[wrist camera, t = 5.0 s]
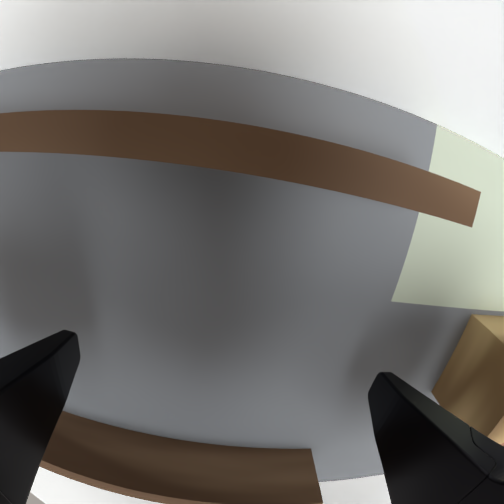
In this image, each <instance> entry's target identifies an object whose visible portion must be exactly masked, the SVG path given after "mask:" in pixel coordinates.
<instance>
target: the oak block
mask: <svg viewBox="0 0 504 504" xmlns="http://www.w3.org/2000/svg"><path fill="white" fill-rule="evenodd" d="M431 392H432V394H433V395H434V397H435V399H436V400H437V402H438V403H439V405H440V406H441V407H443V408H444V409H446V410H447V411H449V412H450V413H452V414H453V415H455V416H456V417H458V418H459V419H461V420H462V421H464V422H465V423H467V424H468V425H469V426H471V427H473V428H474V429H476V430H477V431H479V432H480V433H482V434H483V435H485V436H487V437H488V438H490V439H491V440H493V441H495V442H497V443H498V444H502V443H504V316H495V315H478V314H471V317H470V319H469V321H468V323H467V325H466V328H465V330H464V332H463V334H462V336H461V338H460V340H459V342H458V344H457V346H456V348H455V350H454V352H453V354H452V356H451V358H450V360H449V361H448V363H447V365H446V367H445V369H444V371H443V372H442V374H441V376H440V378H439V379H438V381H437V383H436V384H435V386H434V388H433V389H432V391H431Z"/></svg>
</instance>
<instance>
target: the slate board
mask: <svg viewBox="0 0 504 504" xmlns="http://www.w3.org/2000/svg"><path fill="white" fill-rule="evenodd" d="M42 110H113V111H133V112H148V113H161V114H172V115H181V116H190V117H199V118H207V119H214V120H221V121H228V122H235V123H241V124H247V125H253V126H258V127H264V128H269V129H274V130H279V131H284V132H289V133H294V134H299V135H303V136H308V137H312V138H316V139H321V140H325V141H329V142H333V143H337V144H341V145H344V146H348V147H352V148H356V149H359V150H363V151H366V152H370V153H373V154H377V155H380V156H383V157H387V158H390V159H393V160H396V161H399V162H402V163H405V164H408V165H411V166H414V167H417V168H420V169H423V170H426V171H429V172H432V173H434V174H437V175H440V176H442V177H445V178H448V179H450V180H453V181H455V182H458V183H461V184H463V185H466V186H468V187H470V188H473V189H475V190H478V191H480V192H481V195H480V199H479V203H478V207H477V211H476V215H475V219H474V222H473V226H472V227H468V226H465V225H462V224H459V223H455V222H452V221H449V220H445V219H442V218H439V217H435V216H432V215H428V214H424V213H421V212H417V211H414V210H410V209H406V208H402V207H399V206H395V205H391V204H387V203H383V202H379V201H375V200H371V199H367V198H362V197H358V196H354V195H349V194H345V193H341V192H336V191H332V190H327V189H322V188H317V187H313V186H308V185H303V184H298V183H293V182H287V181H282V180H277V179H271V178H266V177H260V176H254V175H249V174H243V173H236V172H230V171H224V170H217V169H210V168H203V167H196V166H189V165H181V164H173V163H165V162H157V161H148V160H138V159H128V158H117V157H106V156H93V155H78V154H61V153H38V152H0V358H2V357H4V356H7V355H9V354H11V353H13V352H15V351H17V350H20V349H22V348H24V347H26V346H28V345H31V344H33V343H35V342H37V341H39V340H42V339H44V338H46V337H48V336H50V335H53V334H55V333H57V332H59V331H61V330H69V331H73V332H75V333H76V334H77V336H78V341H79V348H80V363H79V365H78V368H77V371H76V374H75V377H74V380H73V383H72V386H71V389H70V392H69V395H68V398H67V401H66V403H65V406H64V408H63V410H62V411H65V412H68V413H71V414H74V415H77V416H81V417H84V418H87V419H90V420H94V421H97V422H101V423H105V424H108V425H112V426H116V427H120V428H124V429H128V430H133V431H137V432H142V433H146V434H151V435H156V436H162V437H167V438H173V439H179V440H185V441H192V442H200V443H208V444H216V445H226V446H238V447H253V448H277V449H311V451H312V455H313V460H314V464H315V469H316V473H317V478H318V482H323V481H335V480H345V479H353V478H361V477H368V476H375V475H381V474H384V471H383V467H382V463H381V460H380V456H379V452H378V449H377V445H376V441H375V437H374V432H373V426H372V420H371V414H370V408H369V402H368V391H369V389H370V387H371V385H372V383H373V381H374V379H375V377H376V375H377V374H378V373H379V372H392V373H393V374H395V375H396V376H398V377H399V378H401V379H402V380H404V381H405V382H406V383H408V384H409V385H411V386H412V387H414V388H415V389H417V390H418V391H420V392H421V393H422V394H424V395H425V396H427V397H428V398H430V399H431V400H433V401H434V402H436V403H437V404H439V403H438V402H437V400H436V399H435V397H434V395H433V394H432V392H431V391H432V389H433V388H434V386H435V384H436V383H437V381H438V379H439V378H440V376H441V374H442V372H443V371H444V369H445V367H446V365H447V363H448V361H449V360H450V358H451V356H452V354H453V352H454V350H455V348H456V346H457V344H458V342H459V340H460V338H461V336H462V334H463V332H464V330H465V328H466V325H467V323H468V321H469V319H470V317H471V314H478V315H495V316H504V158H502V157H500V156H498V155H497V154H495V153H493V152H491V151H490V150H488V149H486V148H484V147H482V146H480V145H478V144H476V143H474V142H473V141H471V140H469V139H467V138H465V137H463V136H461V135H458V134H456V133H454V132H452V131H450V130H448V129H446V128H444V127H441V126H439V125H437V124H435V123H432V122H430V121H428V120H425V119H423V118H421V117H418V116H416V115H413V114H411V113H408V112H406V111H403V110H400V109H398V108H395V107H392V106H390V105H387V104H384V103H381V102H378V101H376V100H373V99H370V98H367V97H363V96H360V95H357V94H354V93H351V92H347V91H344V90H341V89H337V88H334V87H330V86H326V85H323V84H319V83H315V82H311V81H307V80H303V79H298V78H294V77H289V76H285V75H280V74H275V73H270V72H265V71H259V70H253V69H247V68H241V67H234V66H227V65H219V64H211V63H202V62H191V61H179V60H162V59H91V60H75V61H64V62H54V63H45V64H37V65H30V66H24V67H18V68H12V69H7V70H2V71H0V113H9V112H23V111H42Z"/></svg>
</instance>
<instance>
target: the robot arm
mask: <svg viewBox="0 0 504 504" xmlns="http://www.w3.org/2000/svg"><path fill="white" fill-rule="evenodd" d="M79 363H80V348H79V341H78V336H77V334H76V333H75V332H73V331H69V330H61V331H59V332H57V333H55V334H53V335H50V336H48V337H46V338H44V339H42V340H39V341H37V342H35V343H33V344H31V345H28V346H26V347H24V348H22V349H20V350H17V351H15V352H13V353H11V354H9V355H7V356H4V357H2V358H0V504H26V502H27V499H28V496H29V493H30V490H31V487H32V484H33V482H34V479H35V476H36V473H37V471H38V468H39V465H40V463H41V460H42V458H43V455H44V453H45V450H46V448H47V445H48V443H49V440H50V438H51V436H52V433H53V431H54V429H55V426H56V424H57V422H58V419H59V417H60V415H61V413H62V410H63V408H64V406H65V403H66V401H67V398H68V395H69V392H70V389H71V386H72V383H73V380H74V377H75V374H76V371H77V368H78V365H79ZM368 402H369V408H370V414H371V420H372V426H373V432H374V437H375V441H376V445H377V449H378V452H379V456H380V460H381V463H382V467H383V471H384V475H385V479H386V483H387V487H388V491H389V495H390V499H391V504H504V446H502V445H500V444H498V443H497V442H495V441H493V440H491V439H490V438H488V437H487V436H485V435H483V434H482V433H480V432H479V431H477V430H476V429H474V428H473V427H471V426H469V425H468V424H467V423H465V422H464V421H462V420H461V419H459V418H458V417H456V416H455V415H453V414H452V413H450V412H449V411H447V410H446V409H444V408H443V407H441V406H440V405H439V404H437V403H436V402H434V401H433V400H431V399H430V398H428V397H427V396H425V395H424V394H422V393H421V392H420V391H418V390H417V389H415V388H414V387H412V386H411V385H409V384H408V383H406V382H405V381H404V380H402V379H401V378H399V377H398V376H396V375H395V374H393V373H392V372H379V373H378V374H377V375H376V377H375V379H374V381H373V383H372V385H371V387H370V389H369V391H368Z"/></svg>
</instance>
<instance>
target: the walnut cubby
mask: <svg viewBox="0 0 504 504" xmlns="http://www.w3.org/2000/svg"><path fill="white" fill-rule="evenodd" d="M0 152H38V153H61V154H78V155H93V156H106V157H117V158H128V159H138V160H148V161H157V162H165V163H173V164H181V165H189V166H196V167H203V168H210V169H217V170H224V171H230V172H236V173H243V174H249V175H254V176H260V177H266V178H271V179H277V180H282V181H287V182H293V183H298V184H303V185H308V186H313V187H317V188H322V189H327V190H332V191H336V192H341V193H345V194H349V195H354V196H358V197H362V198H367V199H371V200H375V201H379V202H383V203H387V204H391V205H395V206H399V207H402V208H406V209H410V210H414V211H417V212H421V213H424V214H428V215H432V216H435V217H439V218H442V219H445V220H449V221H452V222H455V223H459V224H462V225H465V226H468V227H472V226H473V222H474V219H475V215H476V211H477V207H478V203H479V199H480V195H481V192H480V191H478V190H475V189H473V188H470V187H468V186H466V185H463V184H461V183H458V182H455V181H453V180H450V179H448V178H445V177H442V176H440V175H437V174H434V173H432V172H429V171H426V170H423V169H420V168H417V167H414V166H411V165H408V164H405V163H402V162H399V161H396V160H393V159H390V158H387V157H383V156H380V155H377V154H373V153H370V152H366V151H363V150H359V149H356V148H352V147H348V146H344V145H341V144H337V143H333V142H329V141H325V140H321V139H316V138H312V137H308V136H303V135H299V134H294V133H289V132H284V131H279V130H274V129H269V128H264V127H258V126H253V125H247V124H241V123H235V122H228V121H221V120H214V119H207V118H199V117H190V116H181V115H172V114H161V113H148V112H133V111H113V110H42V111H23V112H9V113H0ZM39 466H40V467H42V468H45V469H47V470H49V471H52V472H54V473H57V474H59V475H62V476H65V477H67V478H70V479H73V480H76V481H79V482H82V483H85V484H88V485H91V486H94V487H97V488H100V489H104V490H107V491H111V492H115V493H118V494H122V495H126V496H130V497H135V498H139V499H144V500H148V501H153V502H159V503H164V504H322V503H323V500H322V496H321V491H320V487H319V482H318V478H317V473H316V469H315V464H314V460H313V455H312V451H311V449H277V448H253V447H238V446H226V445H216V444H208V443H200V442H192V441H185V440H179V439H173V438H167V437H162V436H156V435H151V434H146V433H142V432H137V431H133V430H128V429H124V428H120V427H116V426H112V425H108V424H105V423H101V422H97V421H94V420H90V419H87V418H84V417H81V416H77V415H74V414H71V413H68V412H65V411H62V413H61V415H60V417H59V419H58V422H57V424H56V426H55V429H54V431H53V433H52V436H51V438H50V440H49V443H48V445H47V448H46V450H45V453H44V455H43V458H42V460H41V463H40V465H39Z"/></svg>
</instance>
